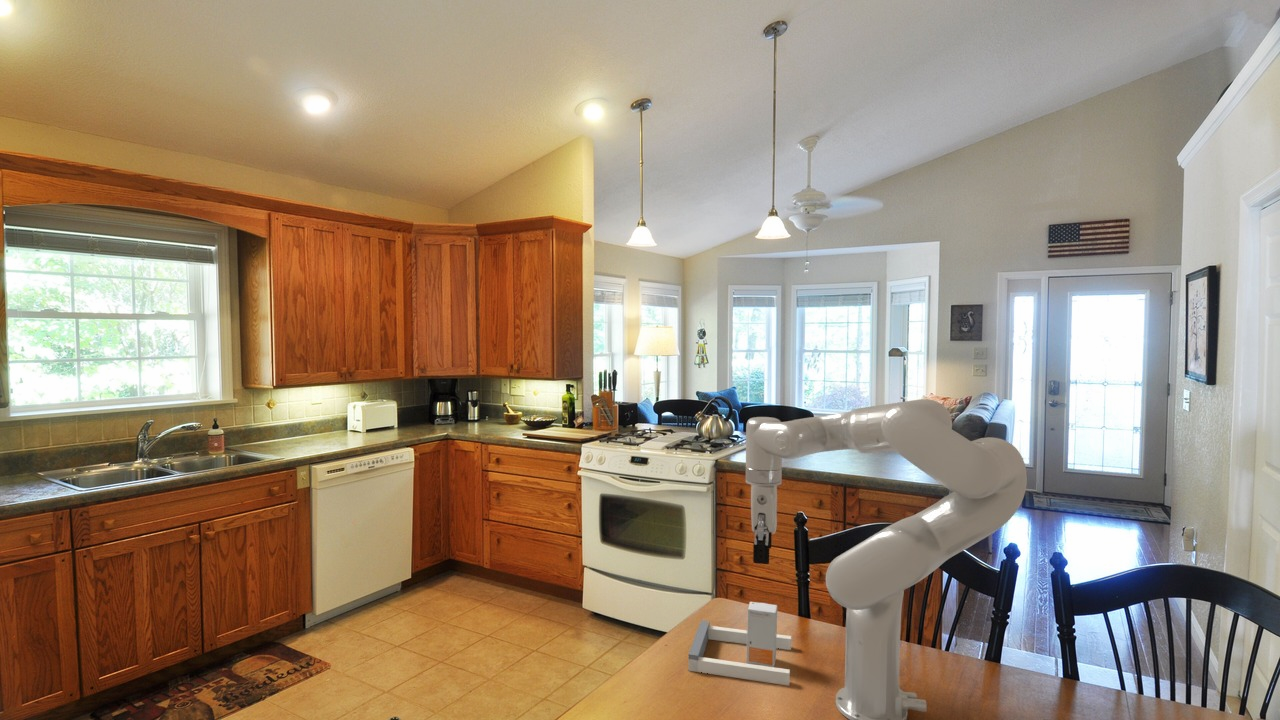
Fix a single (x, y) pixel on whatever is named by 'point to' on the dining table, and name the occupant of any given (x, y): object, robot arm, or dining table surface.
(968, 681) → the dining table surface
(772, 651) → the skincare box
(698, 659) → the guide channel
